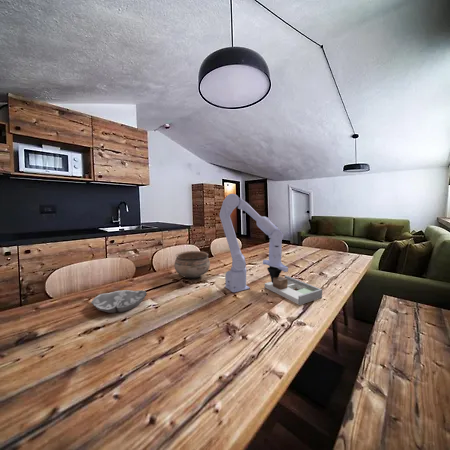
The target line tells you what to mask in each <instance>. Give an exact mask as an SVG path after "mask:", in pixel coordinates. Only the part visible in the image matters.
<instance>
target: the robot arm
mask: <svg viewBox="0 0 450 450" xmlns="http://www.w3.org/2000/svg"><path fill="white" fill-rule="evenodd" d="M236 208H237V209H239V210H241V211H244V212H245V213H247V215H249V216H250V217H251V218H252V219H253V220H254V221H256V226H257V227H258V229H260V230H261V231H262V232H263V233H264V234H265V235H266V236H268V238H269V242H268V243H269V244H268V259H263V260H262V265H266V266H268V267H267V271H268V274H269V276H270V277H269V278H270V282H272V283H273V278H275V277H279V276H281V275H280V274H281V273H282V272H284V273H287V272H289V267H288V266H286V265H285V264H283V262H282V254H283V253H282V252H283V250H282V248H283V245H282V242H283V241H282V240H283V239H284V237H285V236H284V233H283V232H282V230H281V229H279V228H278V226H277V224H274V223H273V222H272V221H271V219H270V218H269V216H268V217H267V216H262V215H260V214H259V213H258V212H257V211H256V210H255V209H254V208H253V207H252V206H251V205H250V203H248V202H247V201H245V200H244V199H242V198H241V197H239V196H238V195H237V194H236V193H229V194H228V195H227V196H226V197H225V198H224V200H223V201H222V204H221V208H220V212H219V218H220V221H221V224H222V229H223V232H224V236H225V238H226V242H227V244H228V249H229V251H230V256H231V259H232V260H231V261H232V262H231V267H230V269H229V270H228V271H226V273H225V276H224V277H225V285H224V288H226V289H228V291H230V292H232V293H238V292H241V291H245V290H249V289H250V288H251V287H250V286H248V285H247V262H246V256H245V255H244V254H243V253H242V251H241V248H240V245H239V241H238V238H237V235H236V232H235V228H234V226H233V221H232V218H231V214H232V213H233V212H234V210H235V209H236Z"/></svg>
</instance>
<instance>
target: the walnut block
mask: <svg viewBox="0 0 450 450" xmlns="http://www.w3.org/2000/svg"><path fill="white" fill-rule="evenodd" d="M287 283H288V279H286V278H285V276H281V275H279V277H275V278H273V287H275V288H278V289H280V290H281V289H284V288H287Z"/></svg>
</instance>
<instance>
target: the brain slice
mask: <svg viewBox="0 0 450 450" xmlns="http://www.w3.org/2000/svg"><path fill="white" fill-rule="evenodd" d="M146 296H147V291H146V290H132V289H131V290H128V289H124V290H123V289H122V290H115V291H111V292H106V293H100V294H98V295H97V296H95V297H94V298H93V299H92V300H91V302H90V303H91V304H92V305H93V307H94V308H96V309H97V310H98V311H100V312H101V311H102V312H105V313H108V314H111V313H114V314H115V313H117V312H118V313H124V312H127V311H129V310H132V309H133V308H136V307H137V306H139V305H140V304H141V303H142V302H143V301H144V300H145V298H146Z"/></svg>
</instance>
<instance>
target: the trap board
mask: <svg viewBox="0 0 450 450" xmlns="http://www.w3.org/2000/svg"><path fill="white" fill-rule="evenodd" d="M284 278H286V279H288V283H287V288H284V289H281V290H280V289H278V288H275V287H273V283H272V281H268V282H265V283H264V288H266V289H267V290H269V291H271V292H273V293H275V294H277V295H278V296H281V297H283V298H285V299H287V300H289V301H291V302H293V303H294V304H296V305H299V306H302V305H305V304H306V303H307V304H308V303H310V302H312V301H315V300H316V301H317V300H319V299H321V298H323V288H319V287H316V286H314V285H312V284H309V283H306V282H304V281H301V280H299V279H296V278H294V277H291V276H289V275H284ZM295 289H297V290H295Z"/></svg>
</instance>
